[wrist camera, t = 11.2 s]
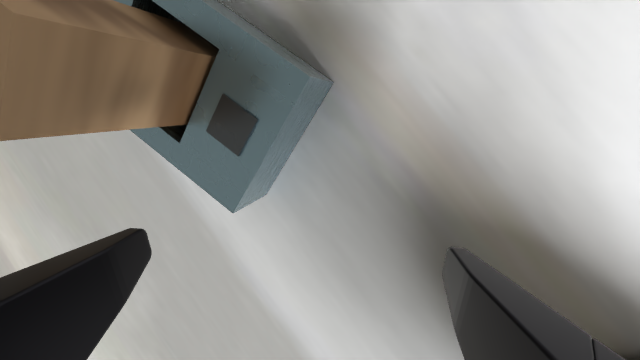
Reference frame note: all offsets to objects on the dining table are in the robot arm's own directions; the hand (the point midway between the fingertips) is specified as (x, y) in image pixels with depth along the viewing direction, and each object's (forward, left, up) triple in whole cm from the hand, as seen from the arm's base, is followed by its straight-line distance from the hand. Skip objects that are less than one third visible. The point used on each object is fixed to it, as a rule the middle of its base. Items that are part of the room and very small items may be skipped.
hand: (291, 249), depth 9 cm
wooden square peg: (+11, +6, -11) cm, 17 cm away
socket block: (+11, +6, -11) cm, 17 cm away
